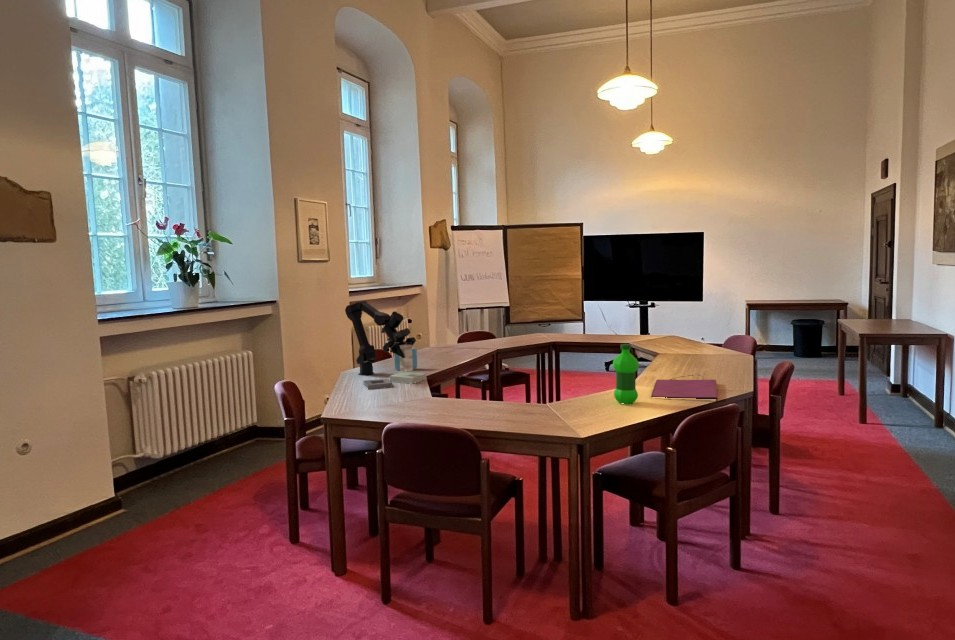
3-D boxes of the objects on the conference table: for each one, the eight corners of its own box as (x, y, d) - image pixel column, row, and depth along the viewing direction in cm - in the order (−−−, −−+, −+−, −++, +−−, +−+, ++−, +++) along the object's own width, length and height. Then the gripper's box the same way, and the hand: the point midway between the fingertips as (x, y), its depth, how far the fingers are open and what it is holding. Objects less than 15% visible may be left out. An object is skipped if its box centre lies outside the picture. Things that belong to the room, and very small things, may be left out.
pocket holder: (363, 384, 332) (363, 380, 332) (387, 382, 336) (387, 378, 335) (367, 389, 320) (367, 385, 320) (392, 386, 324) (392, 382, 324)
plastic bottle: (614, 400, 285) (614, 342, 282) (639, 401, 281) (639, 343, 279) (611, 405, 276) (611, 346, 273) (637, 406, 272) (637, 346, 269)
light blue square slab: (417, 368, 372) (416, 347, 371) (416, 370, 368) (415, 348, 366) (396, 368, 373) (395, 347, 372) (395, 370, 368) (394, 349, 367)
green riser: (390, 381, 337) (389, 375, 337) (404, 377, 348) (404, 371, 347) (412, 384, 330) (412, 378, 330) (426, 379, 340) (426, 373, 340)
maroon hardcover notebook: (717, 393, 277) (650, 392, 286) (717, 403, 277) (651, 401, 286) (716, 374, 314) (657, 373, 323) (716, 383, 315) (657, 381, 324)
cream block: (400, 370, 337) (399, 345, 336) (406, 369, 340) (405, 344, 339) (406, 371, 334) (405, 346, 333) (412, 370, 338) (411, 345, 336)
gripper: (385, 325, 330) (401, 349, 324) (413, 321, 344) (428, 344, 338) (375, 339, 336) (391, 363, 330) (403, 335, 350) (418, 358, 344)
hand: (407, 356), depth 336 cm, fingers closed on cream block, 4 cm apart
